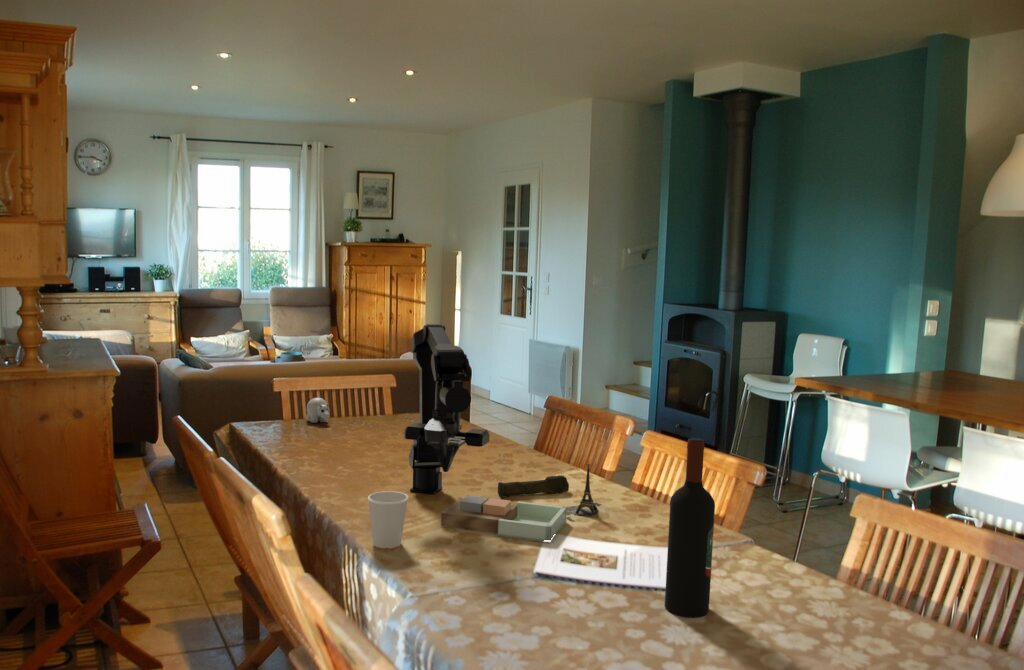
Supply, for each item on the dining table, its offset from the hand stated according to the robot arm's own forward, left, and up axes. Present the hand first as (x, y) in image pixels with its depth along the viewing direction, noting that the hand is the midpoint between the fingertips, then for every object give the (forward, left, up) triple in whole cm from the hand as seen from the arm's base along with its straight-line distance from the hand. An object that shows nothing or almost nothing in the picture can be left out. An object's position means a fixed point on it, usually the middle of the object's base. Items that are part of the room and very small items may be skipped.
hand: (445, 471), depth 194 cm
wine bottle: (+58, -31, -11) cm, 66 cm away
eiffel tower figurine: (+29, +17, -11) cm, 36 cm away
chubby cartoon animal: (-78, +80, -11) cm, 112 cm away
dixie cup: (-4, -21, -11) cm, 24 cm away
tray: (+21, 0, -11) cm, 24 cm away
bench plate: (+9, 0, -11) cm, 14 cm away
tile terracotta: (+13, 0, -8) cm, 15 cm away
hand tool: (+14, +27, -11) cm, 32 cm away
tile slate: (+7, 0, -8) cm, 10 cm away
